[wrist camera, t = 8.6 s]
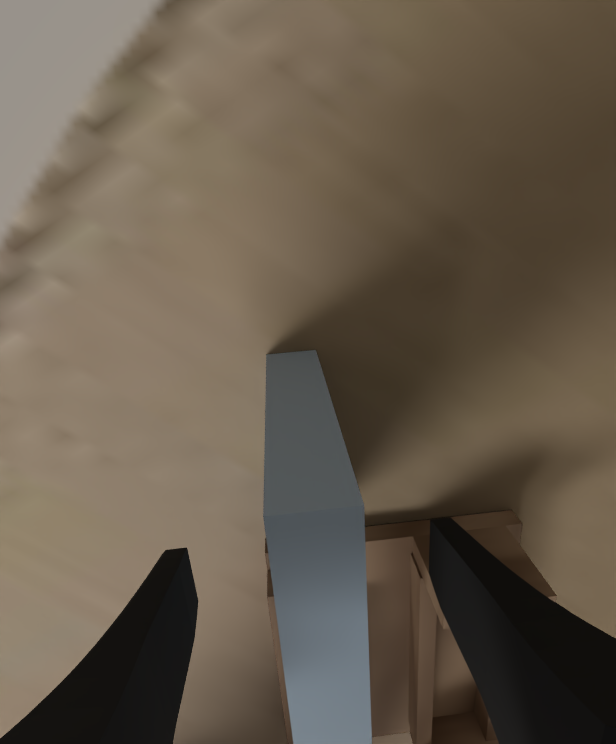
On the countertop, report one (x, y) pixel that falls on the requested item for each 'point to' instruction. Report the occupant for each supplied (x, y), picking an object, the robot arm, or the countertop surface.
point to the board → (316, 555)
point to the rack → (421, 633)
